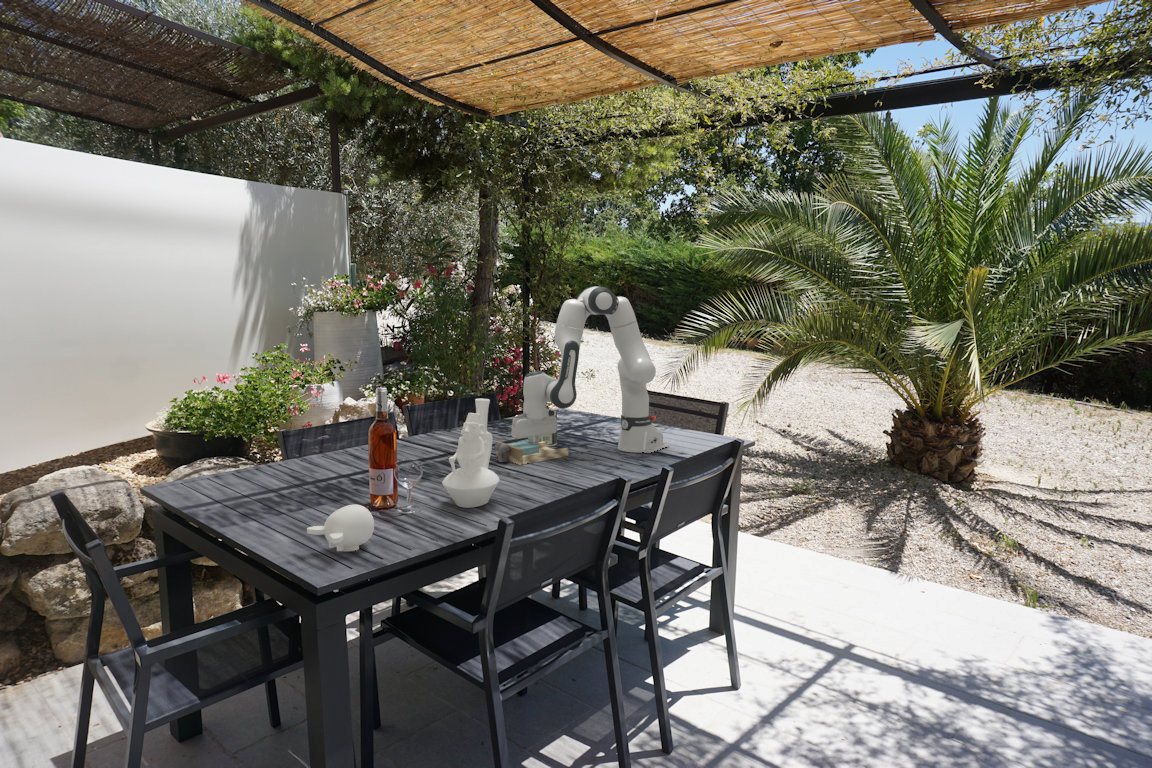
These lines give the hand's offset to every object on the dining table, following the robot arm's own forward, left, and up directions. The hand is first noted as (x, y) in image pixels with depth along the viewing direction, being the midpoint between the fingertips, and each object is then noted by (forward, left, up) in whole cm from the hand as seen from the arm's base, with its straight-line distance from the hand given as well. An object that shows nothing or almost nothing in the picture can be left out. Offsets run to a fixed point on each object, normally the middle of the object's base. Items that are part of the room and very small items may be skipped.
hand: (534, 446), depth 285 cm
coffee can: (-16, -14, -4) cm, 21 cm away
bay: (+4, 0, -4) cm, 5 cm away
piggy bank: (+97, +49, -4) cm, 109 cm away
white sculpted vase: (+49, +36, -4) cm, 61 cm away
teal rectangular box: (+5, 0, -2) cm, 6 cm away
